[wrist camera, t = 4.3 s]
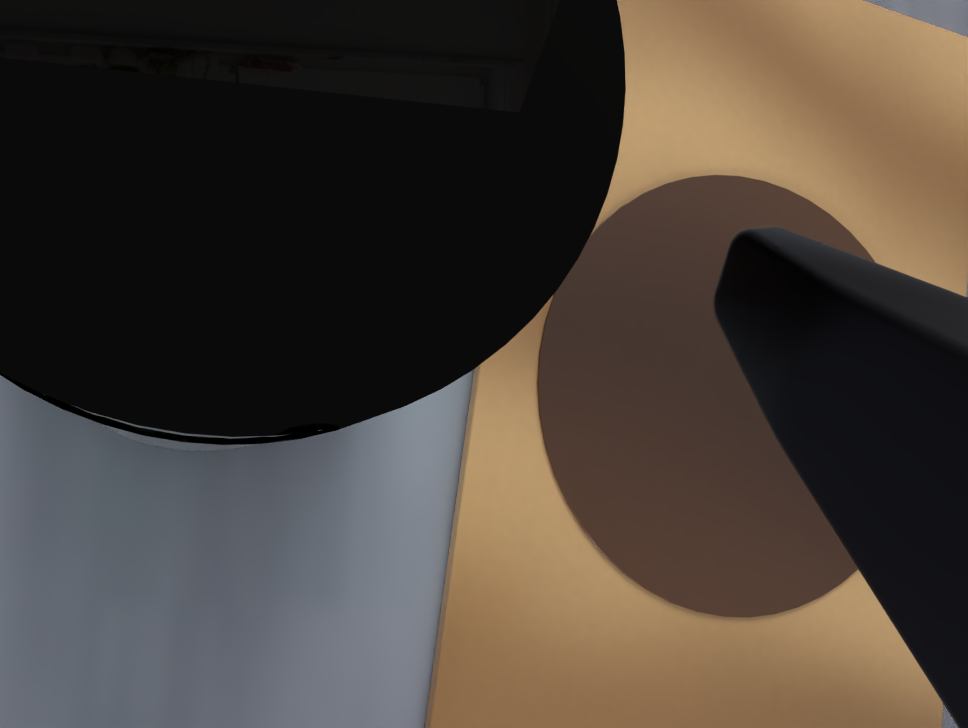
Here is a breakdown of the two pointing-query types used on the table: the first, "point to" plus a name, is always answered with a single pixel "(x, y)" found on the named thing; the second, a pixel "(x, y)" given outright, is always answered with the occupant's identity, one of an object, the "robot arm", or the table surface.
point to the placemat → (698, 394)
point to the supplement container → (289, 201)
